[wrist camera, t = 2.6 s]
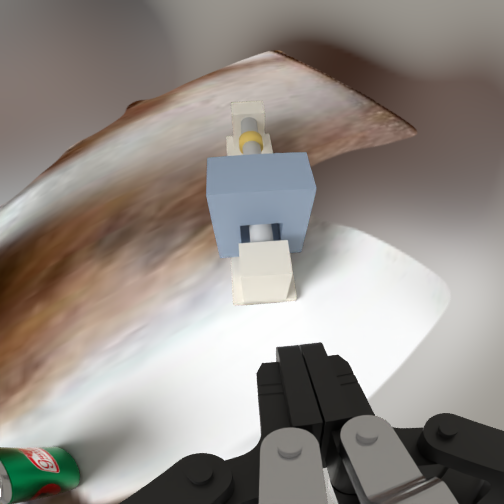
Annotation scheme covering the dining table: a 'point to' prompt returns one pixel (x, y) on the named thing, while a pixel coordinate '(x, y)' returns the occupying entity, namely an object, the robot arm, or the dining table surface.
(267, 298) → the rail stand
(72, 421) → the dining table surface
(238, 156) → the collar
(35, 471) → the soda can
